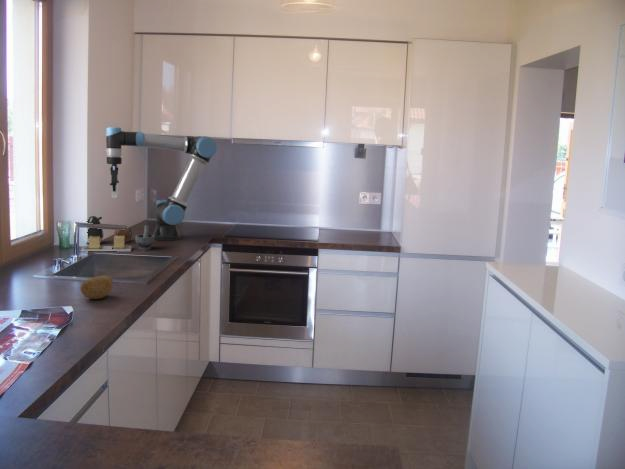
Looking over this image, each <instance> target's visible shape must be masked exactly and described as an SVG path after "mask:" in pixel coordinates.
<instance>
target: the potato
mask: <svg viewBox="0 0 625 469" xmlns="http://www.w3.org/2000/svg"><path fill="white" fill-rule="evenodd" d="M113 286H114V281H113V278H112V277H111V276H110V275H104V274H103V275H99V276H93V277H91V278H89V279H85V281H83V282H82V283H81V284H80V292H81V294H82V295H83V296H84V297H85V298H88V299H91V300H100V299H104V298H105V297H106V296H108V295H110V293H111V291H112V290H113Z"/></svg>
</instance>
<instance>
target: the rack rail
mask: <svg viewBox="0 0 625 469" xmlns="http://www.w3.org/2000/svg"><path fill="white" fill-rule="evenodd" d="M100 248H101V249H89V245H83V246H82V247H81V249H80V252H81V253H86V252H87V253H89V252H88V251H117V252H131V251H132V245H125V249H114V245H107V246H106V245H100ZM112 248H113V249H112Z"/></svg>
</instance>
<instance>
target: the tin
mask: <svg viewBox="0 0 625 469" xmlns="http://www.w3.org/2000/svg"><path fill="white" fill-rule="evenodd" d="M114 236H125V243H128V242H131V240H132V236H133V233H132V229H131V227H129V228H128V229H127V230H116V229H115V230H114V233H113V237H114Z"/></svg>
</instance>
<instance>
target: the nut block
mask: <svg viewBox="0 0 625 469" xmlns="http://www.w3.org/2000/svg"><path fill="white" fill-rule="evenodd" d="M113 246H114V249H125V246H126V244H125V236H114V235H113Z"/></svg>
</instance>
